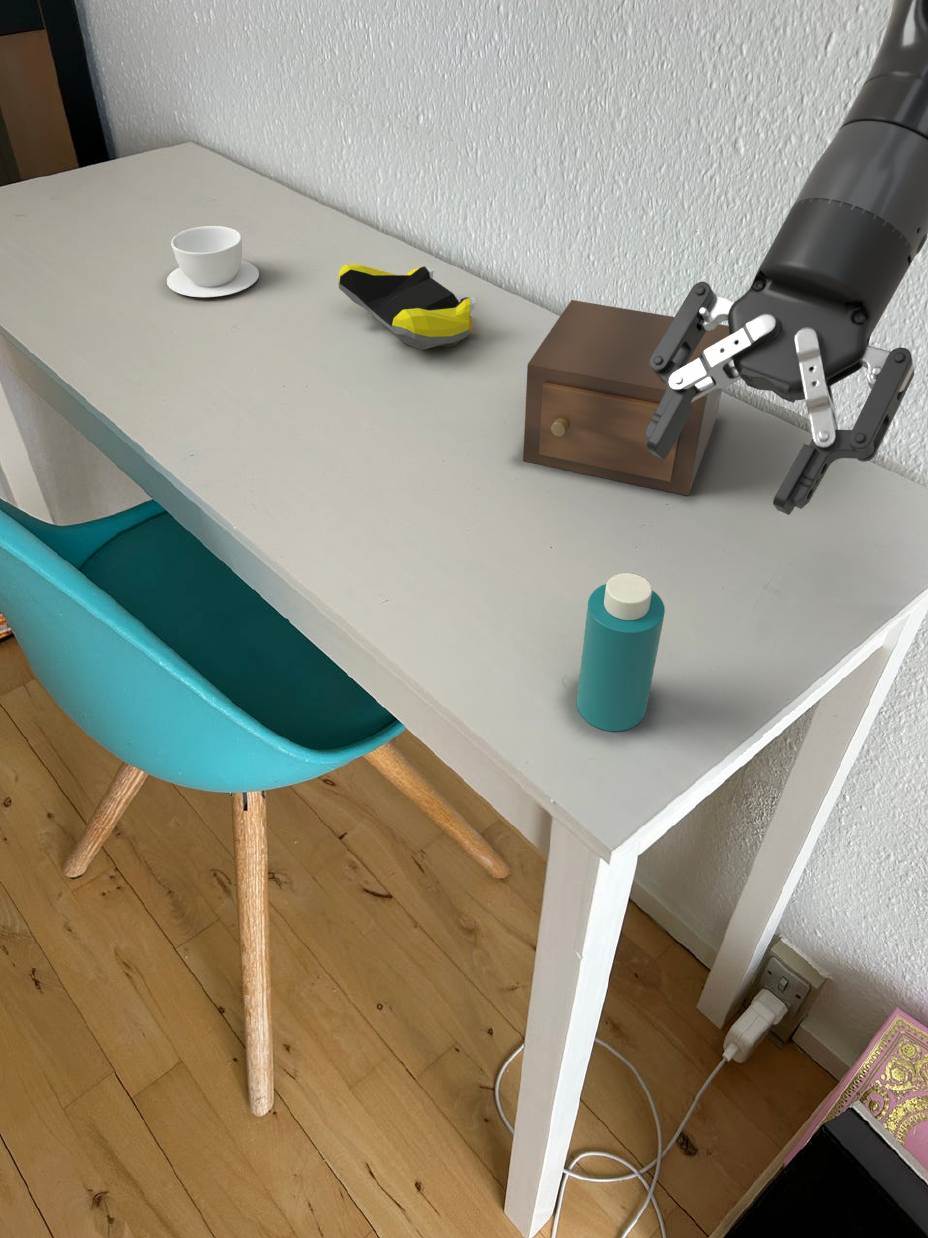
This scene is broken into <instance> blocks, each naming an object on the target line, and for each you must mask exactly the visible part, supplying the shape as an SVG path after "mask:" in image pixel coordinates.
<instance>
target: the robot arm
mask: <svg viewBox="0 0 928 1238" xmlns="http://www.w3.org/2000/svg"><path fill="white" fill-rule="evenodd" d="M927 239H928V0H893V4H892V8H891V11H890V15H889V19H888V22H887V26H886V29H885V32H884V35H883V38H882V41H881V44H880V46H879V49H878V51H877V54H876V56H875V59H874V61H873V64H872V66H871V69H870V71H869V73H868V75H867V76H866V79H865V80H864V82H863V85H862V86H861V88H860V90H859V92H858V93H857V95H856V97H855V99H854V101H853V102H852V105H851V106H850V108H849V110H848V112H847V113H846V116H845V118H844V119H843V121H842V123H841V125H840V127H839V129H838V131H837V132H836V134H835V136H834V137H833V139H832V141H830V143H829V144H828V147H827V148H826V149H825V151H824V152H822V154H821V156H820V157H819V158H818V160H817V161H816V163H815V165H814V166H813V168H812V169H811V171H810V173H809V175H808V177H807V178H806V180H805V183H804V184H803V186H802V188H801V190H800V192H799V193H798V196H797V197H796V199H795V201H794V203H793V204H792V206H791V208H790V210H789V212H788V214H787V216H786V217H785V219H784V220H783V223H782V225H781V226H780V229H779V231H778V232H777V234H776V236H775V238H774V239H773V242H772V243H771V245H770V247H769V249H768V251H767V252H766V254H765V256H764V258H763V260H762V262H761V264H760V265H759V268H758V269H757V271H756V274H755V276H754V278H753V281H752V283H751V285H750V287H749V289H748V290H747V291H746V292H745V293H744V294H743V295H742V296H740V297H739V298H738V299H737V300H733V299H731V298H729V297H726V296H723V295H721V294H719V293H716V292H714V291H713V289H712V287H711V285H710V284H709V283H708V282H706V281H699V282H696V283H695V284H694V285H693V286H692V287H691V288H690V290H689V293H688V294H687V296H686V297H685V299H684V300H683V302H682V304H681V305H680V307H679V309H678V311H677V312H676V314H675V316H673V317H674V319H673V320H672V322H671V324H670V325H669V327H668V329H667V330H666V332H665V334H664V335H663V337H662V339H661V340H660V342H659V344H658V345H657V347H656V349H655V350H654V352H653V354H652V355H651V357H650V359H649V365H650V367H651V368H652V370H653V371H654V372H655V373H656V375H657V376H658V377H659V378H660V380H661V381H662V382H663V383H665V384H666V391H665V394H664V396H663V398H662V400H661V401H660V403H659V405H658V407H657V409H656V411H655V413H654V415H653V416H652V418H651V420H650V422H649V424H648V426H647V427H646V432H645V437H646V438H647V439H648V443H647V449H648V450H649V451H650V452H651V453H652V454H653V455H655V456H657V457H659V458H661V459H665V458H666V457H667V456H668V455H669V453H670V451H671V449H672V447H673V445H674V444H675V442H676V440H677V438H678V436H679V434H680V433H681V431H682V429H683V427H684V425H685V423H686V421H687V420H688V418H689V416H690V414H691V412H692V410H693V409H694V407H693V406H692V405H691V402H693V401H695V400H697V399H699V398H701V397H702V396H704V395H706V394H708V393H709V392H711V391H713V390H715V389H717V388H722V389H725V388H727V387H729V386H731V385H733V384H735V383H736V382H738V381H740V380H742V381H744V383H745V384H746V386H747V387H750V388H753V389H755V390H758V391H769V392H772V393H774V394H775V395H776V396H778V397H779V398H781V399H782V400H785V401H787V402H790V403H793V404H795V403H796V401H803V400H804V401H805V407H806V409H807V413H808V419H809V425H810V430H811V437H812V439H811V440H810V443H809V444H807V443H803V445H802V447H801V449H800V450H799V452H798V454H797V456H796V457H795V459H794V461H793V463H792V464H791V467H790V468H789V470H788V472H787V473H786V475H785V477H784V479H783V481H782V482H781V484H780V486H779V488H778V489H777V492H776V493H775V495H774V498H773V501H772V505H773V506H774V508H775V509H776V510H777V511H779V512H781V513H783V514H786V515H788V516H789V515H791V513H793V511H794V509H795V507H796V508H798V509H799V510H802V509H803V508H804V507H805V506H807V505H808V504H809V503H810V502H811V499H812V498H813V496H814V494H815V493H816V492H817V491H816V490H817V489H818V487H819V486H820V484H821V482H822V480H823V479H824V476H825V475H826V473H827V471H828V469H829V467H830V466H831V465H832V464H833V463H834V462H835V461H837V460H839V459H856V460H857V461H859V462H861V463H866V462H869V461H871V460H873V459H874V458H875V457H876V455H877V453H878V450H879V449H880V447H881V445H882V443H883V440H884V438H885V436H886V434H887V433H888V431H889V429H890V426H891V425H892V422H893V420H894V418H895V416H896V413H897V412H898V410H899V408H900V406H901V404H902V402H903V399H904V397H905V396H906V393H907V391H908V389H909V388H910V385H911V383H912V382H913V379H914V377H915V368H914V365H915V364H914V359H913V356H912V353H911V351H910V350H909V349H908V348H905V347H900V346H899V347H896V348H893V349H892V350H886V349H883V348H879V347H875V346H872V345H870V340H871V336H872V334H873V332H874V330H875V329H876V328H877V325H878V324H879V322H880V320H881V318H882V317H883V315H884V313H885V311H886V309H887V307H888V305H889V304H890V302H891V300H892V299H893V297H894V295H895V293H896V291H897V289H898V287H899V286H900V284H901V282H902V280H903V279H904V277H905V275H906V274H907V272H908V270H909V268H910V267H911V265H912V263H913V261H914V260H915V258H916V256H917V255H918V254H919V253H920V252H921V250H922V249H923V248H924V245H925V243H926V241H927ZM725 321H727V326H729V333H730V336H728V337H726V338H725V339H723V340H721V341H720V342H718V343H716V344H714V345H713V346H711V347H709V348H707V349H706V350H704V351H703V352H702V353H701V355H700V357H699V358H698V359H696V360H694V361H693V362H691V363H689V364H687V362H688V361H689V359H690V357H691V356H692V354H693V352H694V351H695V349H696V347H697V346H698V344H699V342H700V341H701V339H702V338H703V336H704V334H705V333H706V331H711V330H714V329H715V328H716V327H717V326H718V325H719V324H721V323H722V322H723V323H724V322H725ZM686 364H687V365H686ZM685 365H686V366H685ZM863 367H864V368H865V369H866V370H867V373H866V381H867V384H868V387H869V389H870V392H869V394H868V396H867V398H866V400H865V402H864V404H863V406H862V408H861V411H860V412H859V415H858V417H857V419H856V421H855V422H854V424H853V427H852V429H839V427H838V422H837V412H836V406H835V402H834V396H833V389H832V386H833V385H836V384H837V383H839V382H840V381H843V380H844V379H846V378H848V377H849V376H851V375H853V374H855V373H856V372H858V371H860V370H861V369H862V368H863Z"/></svg>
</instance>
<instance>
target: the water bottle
mask: <svg viewBox="0 0 928 1238" xmlns="http://www.w3.org/2000/svg"><path fill="white" fill-rule="evenodd" d="M665 613H666V608H665V604H664V602H663V600H662V598H661V597H660V595H659V594H658V593H657V592H656V591H654V590H653V588H652V585H651V583H650V582H649V581H648V580H647V579H646V578H644V576H641V575H639V574H636V573H631V572H624V573H618V574H615V575H613V576H611V577H610V578H609V579H608V580H607V582H606V583H604V584H602V585H600V586H598V587H597V588H595V590H593V591H592V593H591V594H590V595H589V597H588V601H587V608H586V617H585V626H584V634H583V635H584V636H583V643H582V650H581V651H582V652H581V661H580V670H579V678H578V687H577V696H576V708H577V710H578V713H579V714H580V716H581V717H582V718H583V720H584V721H585V722H586V723H588V724H589V725H591V726H593V727H594V728H597V729H599V730H603V731H607V732H622V731H627V730H630V729H632V728H634V727H636V726H637V725H639V724H640V723H641V722H642V721H643V719H644V718H645V715H646V713H647V709H648V703H649V698H650V697H649V696H650V693H651V688H652V687H651V686H652V682H653V676H654V672H655V667H656V660H657V656H658V651H659V645H660V639H661V634H662V628H663V623H664V618H665Z"/></svg>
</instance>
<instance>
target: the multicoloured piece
mask: <svg viewBox="0 0 928 1238" xmlns="http://www.w3.org/2000/svg"><path fill="white" fill-rule="evenodd" d="M433 278H434V269H433V267H431V266H427V267H426V266H419V267H415V268H413V269H411V270H410V271H408V272H407V273H403V274H396V273H392V272H388V271H386V270H382V269H378V268H374V267H371V266H367V265H363V264H359V263H351V264H343V265H342V266H341V268H340V269H339V270H338V283H337V285H338V289H339V290H340V291H341V292H342V293H343V294H344V295H346V296H347V297H348V299H350V300H351V302H352V303H355V304H356V305H357V306H359V307H361V308H363V309H364V310H365V311H367V312H368V313H369V314H370V315H371V316H372V317H373V318H375V319H376V320H378V321H379V322H380V323H382V324H383V325H384V326H385V327H386V328H387V329H389V330H390V331H391V332H392V333H393V334H394V335H395V336H396V337H397V338H398V340H400V341H401V342H402V343H403V344H405V345H408V346H411V347H413V348H415V349H418V350H425V349H431V348H434V347H442V348H451V347H452V348H453V347H455V346H456V345H457V344H459V342H460V341H462V340H464V339H465V338H467V337H469V335H470V333H471V332H472V331H473V317H472V312H473V310H474V308H475V304H476V298H475V297H466V296H465V297H463V298H461V299H460V301H459V300H458V297H457V296H456V295H455V294H454V293H453V292H452V291H451V290H449V289H448V288H447V287H445V286H444V285H443V284H440V282H438V281H437V280H435V279H433Z"/></svg>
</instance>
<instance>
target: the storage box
mask: <svg viewBox="0 0 928 1238" xmlns="http://www.w3.org/2000/svg"><path fill="white" fill-rule="evenodd" d="M674 317H675V316H672V315H665V314H660V313H653V312H648V311H642V310H636V309H628V308H624V307H617V306H611V305H605V304H598V303H593V302H586V301H582V300H581V301H580V300H575V299H571V300H570V302H569V303H568V304H567V306H566V307H565V308H564V310H563V311H562V313H561V315H559V318H558V319H557V320H556V322H555V323H554V325H553V326H552V328H551V329H550V330H549V332H548V333H547V335H546V336H545V338H544V339H543V341H542V342H541V344H540V345H539V347H538V348H537V349H536V351H535V353H534V354H533V355H532V357H531V358H530V359H529V361H528V363H527V365H526V366H527V367H526V368H527V369H526V373H527V374H526V386H525V387H526V390H525V391H526V392H525V408H524V409H525V413H524V431H523V432H524V434H523V455H522V461H523V462H528V463H532V464H537V465H542V466H546V467H550V468H556V469H559V470H565V471H569V472H574V473H579V474H583V475H589V476H593V477H598V478H603V479H607V480H610V481H611V480H612V481H616V482H620V483H621V482H622V483H626V484H630V485H635V486H639V487H645V488H649V489H653V490H659V491H663V492H668V493H672V494H676V495H677V494H678V495H681V496H686V497H687V496H689V495H690V492H691V490H692V487H693V483H694V481H695V479H696V476H697V473H698V471H699V467H700V466H701V462H702V459H703V457H704V454H705V451H706V449H707V446H708V443H709V441H710V437H711V435H712V433H713V429H714V427H715V424H716V421H717V415H718V411H719V406H720V403H721V398H722V397H721V396H722V391H723V388H717V389H715V390H713V391H711V392H709V393H708V394H706V395H704V396H702V397H701V398H699V399H697V400H695V401H693V402H691V405H692V406H693V407H694V409H693V410H692V412H691V414H690V416H689V418H688V420H687V421H686V423H685V425H684V427H683V429H682V431H681V433H680V434H679V436H678V438H677V440H676V442H675V444H674V445H673V447H672V449H671V451H670V453H669V455H668V456H667V457H666V458H665V459H661V458H659V457H657V456H655V455H653V454H652V453H651V452H650V451H649V450H648V449H647V443H648V439H647V438H646V437H645V432H646V427H647V426H648V424H649V422H650V420H651V418H652V416H653V415H654V413H655V411H656V409H657V407H658V405H659V403H660V401H661V400H662V398H663V396H664V394H665V391H666V384H665V383H663V382H662V381H661V380H660V378H659V377H658V376H657V375H656V373H655V372H654V371H653V370H652V368H651V367H650V365H649V359H650V357H651V355H652V354H653V352H654V350H655V349H656V347H657V345H658V344H659V342H660V340H661V339H662V337H663V335H664V334H665V332H666V330H667V329H668V327H669V325H670V324H671V322H672V320H673V319H674ZM728 336H730V333H729V325H728V324H727V325H726V324H721V323H720V324H719V325H718V326H717V327H716V328H715V329H714V330H711V331H706V333H705V334H704V336H703V338H702V339H701V341H700V342H699V344H698V346H697V347H696V349H695V351H694V352H693V354H692V356H691V357H690V359H689V361H688V362H687V364H689V363H691V362H693V361H694V360H696V359H698V358H699V357H700V355H701V353H702V352H703V351H704V350H706V349H707V348H709V347H711V346H713V345H714V344H716V343H718V342H720V341H721V340H723V339H725V338H726V337H728ZM687 364H686V365H687ZM686 365H685V366H686Z"/></svg>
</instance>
